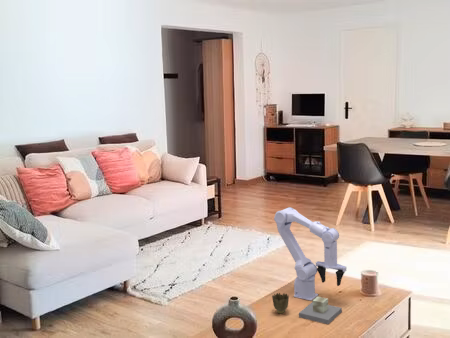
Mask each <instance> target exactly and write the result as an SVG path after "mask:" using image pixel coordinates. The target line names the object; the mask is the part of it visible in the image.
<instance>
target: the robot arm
mask: <svg viewBox="0 0 450 338" xmlns="http://www.w3.org/2000/svg"><path fill="white" fill-rule="evenodd" d="M273 219H274V222H275V224H276V229H277V232H278V233H279V235H280V237H281V238H282V242H284V245H285V247H287V250H288V252H289V253H290V255H291V257H292V259H293V260H294V262H295V265H294V270H295V274H296V277H295V279H294V282H293V284H294V285H293V290H294V295H293V298H297V299H302V300H307V301H313V300H314V299H315V298H316V297H317V296H318V297H319V293H317V292H316V282H315V279H316V278H315V277H316V274H319V277H320V280H321V283H325V282H326V272H327V271H326V269H329V270H330V269H331V270H334V271H335V270H336V271H335V276H336V285H337V287H339V286H341V282H342V279H343V276H344V275H345V273H346V272H347V266H345V265H341V264H339V263H338V240H339V239H340V234H339V233H340V232H339V231H338V230H337V229H336V228H335V227H332V228H330V227H329V226H326V225H324V224H322V222H321V221H319V220H318V221H316V220H315V221H312V220H311V219H308V218H307V217H306V216H304V215H303V214H301V213H300V212H298V210H297V209H294V207H287V208H284V209H282V210H277V211H276V212H275V214H274V218H273ZM294 222H295V223H297V224H298V225H299V224H300V225H302V226H303V227H305V228H308V229H309V232H310V233H311V234H313V235H315V236H316V237H318V238H320V239H321V240H322V242H323V246H324V247H323V251H324V252H323V254H324V255H323V256H324V258H323V259H324V261H316V262H315V263H314V262H313V261H312V260H311V259H310V258H309V257H306V255H305V253H304V251H303V250H302V248H301V246H300V245H299V243H298V241H297V240H296V237H295V236H294V234H293V232H292V231H291V225H292V223H294Z"/></svg>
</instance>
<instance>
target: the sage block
mask: <svg viewBox="0 0 450 338" xmlns="http://www.w3.org/2000/svg"><path fill="white" fill-rule="evenodd" d="M312 302H313V311H314V312H319V313H325V312H326V311H327V310H328V305H329V298H326V297H321V296H319V295H318V296H316V297H315V298H314V299H313V300H312Z"/></svg>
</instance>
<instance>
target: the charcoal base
mask: <svg viewBox="0 0 450 338" xmlns="http://www.w3.org/2000/svg"><path fill="white" fill-rule="evenodd" d="M342 309H343V308H342V307H339V306H335V305H331V304H328V310H327V311H326V312H325V313H319V312H314V311H313V301H312V302H311V303H309V304H308V305H307V306H306V307H304V308H303V309H302V310H300V311H299V312H298V318H302V319H306V320H309V321H313V322H317V323H322V324H324V325H325V324H326V325H329V324H331V323H332V322H333V321H334V320H335V319H336V318H337V317H339V315H341V313H343V310H342Z"/></svg>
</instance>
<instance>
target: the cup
mask: <svg viewBox="0 0 450 338" xmlns="http://www.w3.org/2000/svg"><path fill="white" fill-rule="evenodd" d="M271 298H272V305H273V308H274V309H275V310H276V313H278V314H279V315H283V314H285V313H286V310H287V309H288V307H289V298H290V296H289V294H287V293H283V294H281V293H280V292H277V293H274V294H272V296H271Z"/></svg>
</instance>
